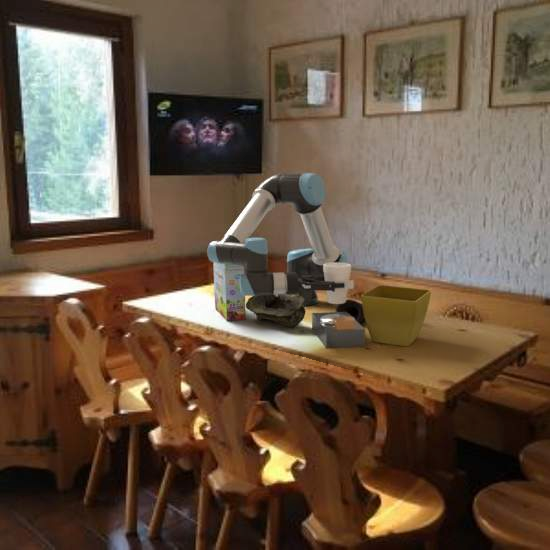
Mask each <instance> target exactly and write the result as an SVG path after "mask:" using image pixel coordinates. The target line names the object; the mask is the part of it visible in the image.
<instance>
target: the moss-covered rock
mask: <svg viewBox="0 0 550 550" xmlns="http://www.w3.org/2000/svg"><path fill="white" fill-rule="evenodd" d="M304 301H305V299H304V297H303V296H300V295H299V294H298V293H297V294H290V295H287V294H286V293H285V294H284V295H279V294H278V296H276V295H261V296H249V298H247V301H246V302H245V309H246V310H247V311H250V312H252V313H253V315H255V316H256V318H257V321H263V320H270V321H274V322H276V323H277V324H280V325H283V326H286V327H289V328H291V329H295V328H296V327H298V325H299V324H300V323H301V322H303V321H304V319H305V315H306V308H305V307H306V306H302V304H303V303H304Z"/></svg>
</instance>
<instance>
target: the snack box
mask: <svg viewBox="0 0 550 550" xmlns="http://www.w3.org/2000/svg"><path fill="white" fill-rule="evenodd" d="M212 263H213V264H212V265H213V267H212V268H213V284H214V285H213V286H214V307H215V310H216V311H218V313H219V314H220V315H221V316H222V318H223V319H224V320H226V322H229V321H230V322H231V321H232V322H233V321H241V320H244V321H245V320H247V317H246V316H247V315H246V313H247V311H246V310H247V308H246V296H244V295H242V294H241V293H240V275H241V274H244V273H245V265H235V264H220V263H215V262H212Z"/></svg>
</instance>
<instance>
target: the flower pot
mask: <svg viewBox="0 0 550 550" xmlns="http://www.w3.org/2000/svg"><path fill="white" fill-rule="evenodd" d="M431 295H432V290H431V289H425V288H413V287H404V286H396V285H386V284H385V285H384V284H379V285H376V286H375V287H373V288H371V289H369V290H368V291H365V292H364V293H362V294H361V295H360V298H361V304H362V306H363V312H364V317H365V320H364V321H365V324H366V327H367V332H368V333H369V337H370V340H371V341H372V343H373V342H374V343H380V344H386V345H392V346H400V347H408V346H410V345H411V344H412V343H413V342H415V340H416V339H418V338H419V336H420V333H421V330H422V328H423V325H424V321H425V319H426V315H427V312H428V309H429V305H430V301H431Z"/></svg>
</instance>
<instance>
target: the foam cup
mask: <svg viewBox="0 0 550 550" xmlns="http://www.w3.org/2000/svg"><path fill="white" fill-rule="evenodd" d="M323 271H324V277H325V281H329V282H334V281H346V280H350V277H351V272H352V264H351V263H349V262H348V263H338V262H334V263H325V264H323ZM330 287H331V285H330ZM348 291H349V289H335V292H333V291H325V292H326V293H325V294H326V298H327V299H326V300H327V303H329V304H334V305H337V304H343V303H345V302H346V300H348V293H349V292H348Z"/></svg>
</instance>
